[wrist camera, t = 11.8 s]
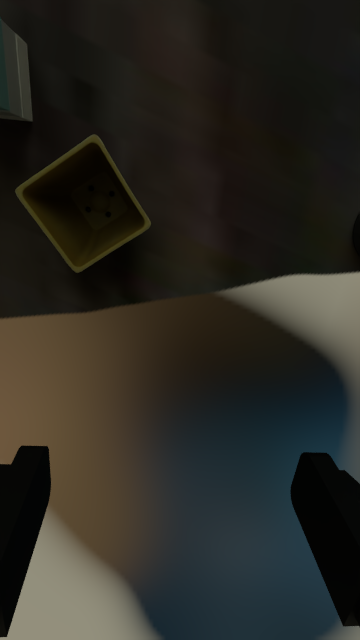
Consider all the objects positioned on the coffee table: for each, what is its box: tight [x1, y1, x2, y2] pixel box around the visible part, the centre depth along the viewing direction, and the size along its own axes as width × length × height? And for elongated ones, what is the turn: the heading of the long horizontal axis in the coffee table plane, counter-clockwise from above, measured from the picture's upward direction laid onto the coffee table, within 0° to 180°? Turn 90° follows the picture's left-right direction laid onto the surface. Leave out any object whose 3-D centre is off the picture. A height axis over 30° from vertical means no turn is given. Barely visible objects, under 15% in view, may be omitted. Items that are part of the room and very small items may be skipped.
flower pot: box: [15, 135, 151, 273], centre depth 34 cm, size 9×9×9 cm
